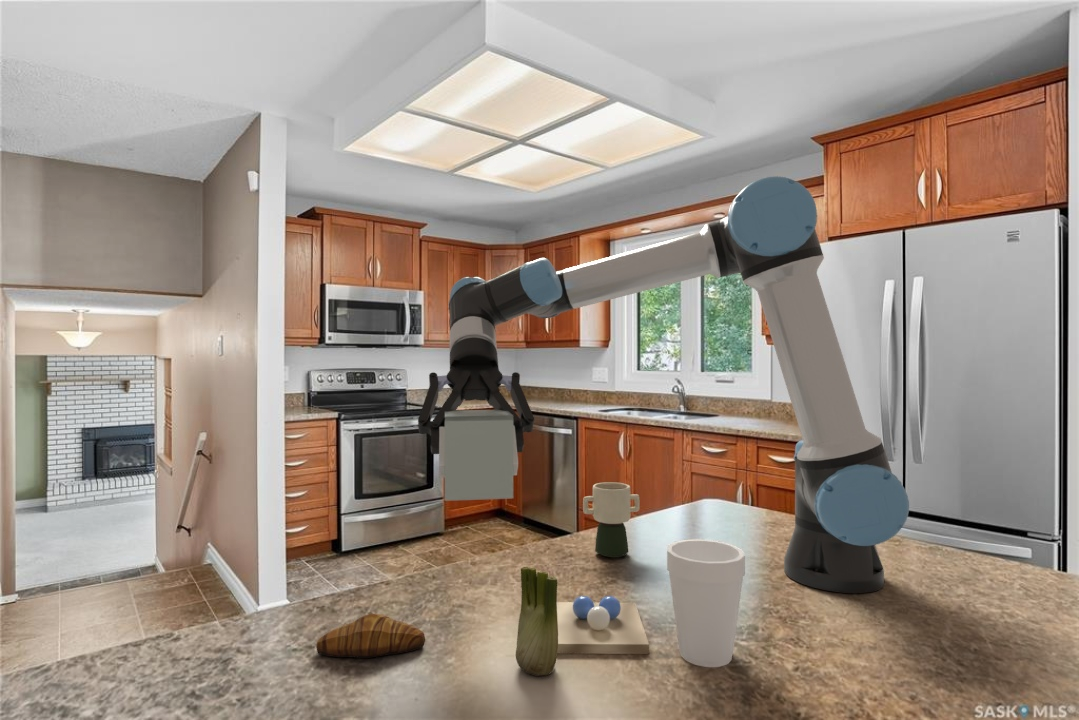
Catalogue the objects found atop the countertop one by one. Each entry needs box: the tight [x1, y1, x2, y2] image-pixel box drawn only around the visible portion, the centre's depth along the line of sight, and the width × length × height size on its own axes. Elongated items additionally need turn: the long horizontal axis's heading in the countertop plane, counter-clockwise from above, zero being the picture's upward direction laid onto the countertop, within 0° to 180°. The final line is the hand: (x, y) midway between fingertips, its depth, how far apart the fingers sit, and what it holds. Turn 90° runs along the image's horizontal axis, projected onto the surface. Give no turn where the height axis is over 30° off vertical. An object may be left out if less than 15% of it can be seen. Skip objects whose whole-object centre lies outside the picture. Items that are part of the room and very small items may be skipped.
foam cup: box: [666, 538, 746, 668], centre depth 76 cm, size 10×9×13 cm
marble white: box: [587, 606, 610, 631], centre depth 81 cm, size 3×3×3 cm
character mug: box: [582, 481, 641, 558], centre depth 114 cm, size 11×7×13 cm, turn 99°
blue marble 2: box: [599, 595, 621, 619], centre depth 84 cm, size 3×3×3 cm
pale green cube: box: [444, 409, 514, 502], centre depth 85 cm, size 9×9×11 cm
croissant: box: [315, 612, 426, 659], centre depth 77 cm, size 14×7×5 cm, turn 97°
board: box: [557, 601, 650, 655], centre depth 83 cm, size 16×13×1 cm
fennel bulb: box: [515, 566, 558, 676], centre depth 73 cm, size 6×5×12 cm
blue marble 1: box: [573, 595, 594, 619], centre depth 84 cm, size 3×3×3 cm
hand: (478, 470), depth 82 cm, fingers closed on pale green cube, 9 cm apart
